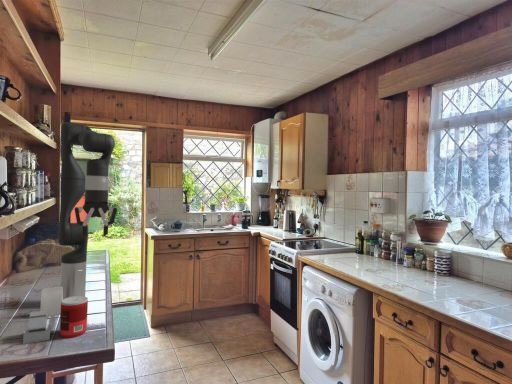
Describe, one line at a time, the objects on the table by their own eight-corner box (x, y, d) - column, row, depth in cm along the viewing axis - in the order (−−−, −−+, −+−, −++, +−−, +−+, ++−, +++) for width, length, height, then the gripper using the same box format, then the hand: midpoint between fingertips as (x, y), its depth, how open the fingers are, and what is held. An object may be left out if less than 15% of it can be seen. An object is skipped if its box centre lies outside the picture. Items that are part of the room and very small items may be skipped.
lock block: (29, 334, 109) (30, 312, 109) (46, 331, 111) (47, 310, 111) (27, 341, 103) (28, 318, 103) (45, 338, 106) (46, 316, 106)
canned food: (90, 328, 115) (92, 296, 115) (79, 338, 107) (80, 303, 107) (67, 328, 114) (69, 295, 114) (54, 338, 106) (56, 303, 106)
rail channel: (26, 333, 109) (26, 323, 109) (50, 329, 112) (51, 320, 112) (23, 344, 101) (23, 334, 101) (49, 340, 105) (49, 330, 105)
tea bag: (61, 315, 126) (62, 288, 126) (40, 317, 123) (41, 289, 123) (62, 311, 129) (63, 285, 129) (41, 313, 126) (42, 287, 127)
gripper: (117, 189, 126) (115, 234, 126) (74, 188, 120) (72, 235, 120) (119, 189, 120) (117, 237, 120) (73, 188, 113) (71, 238, 113)
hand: (95, 236), depth 120 cm, fingers open, 5 cm apart
